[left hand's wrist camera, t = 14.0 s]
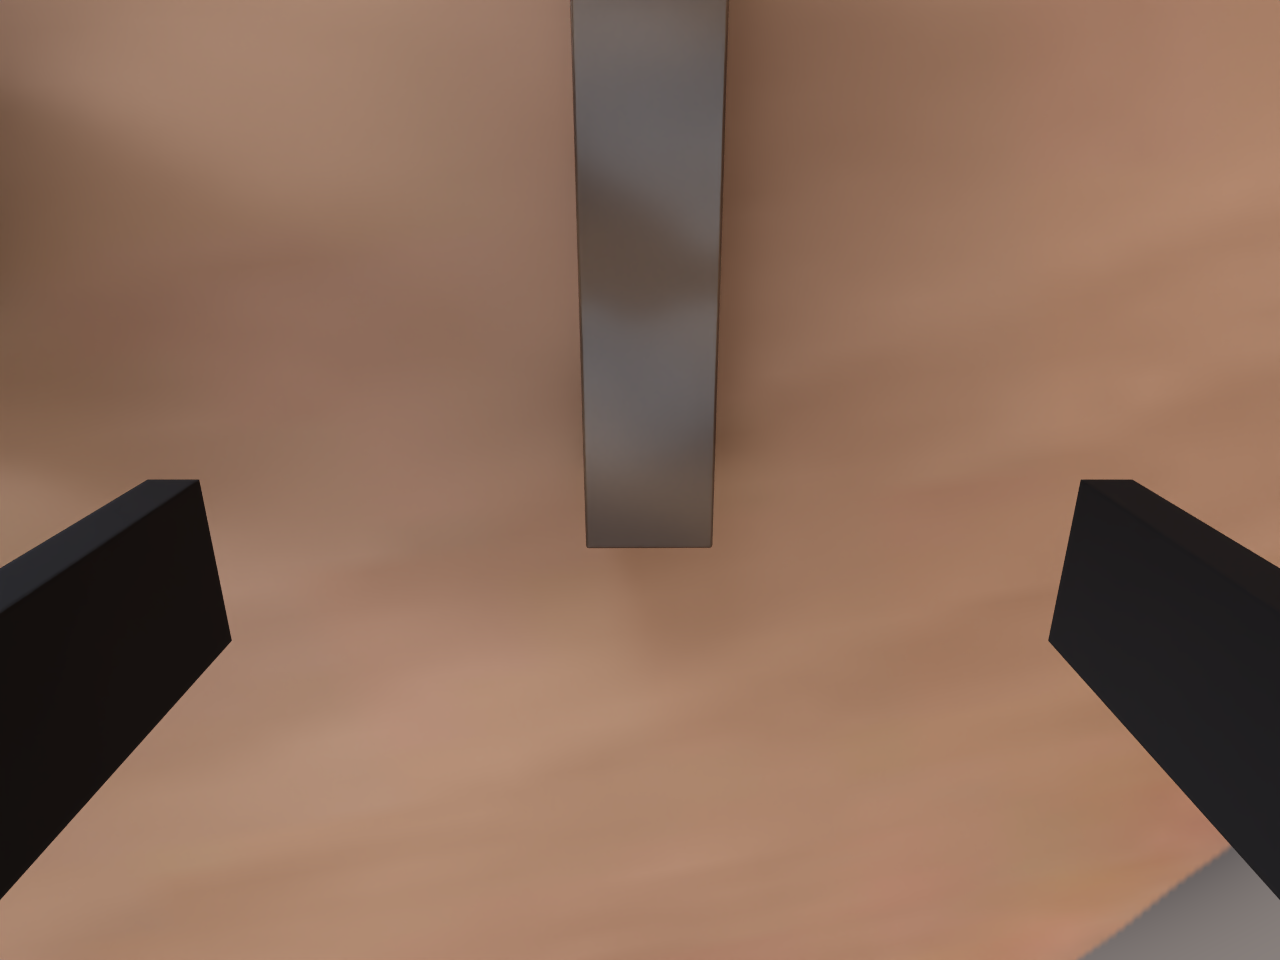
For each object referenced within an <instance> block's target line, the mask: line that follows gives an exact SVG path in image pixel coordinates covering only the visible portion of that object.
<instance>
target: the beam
mask: <svg viewBox="0 0 1280 960" xmlns="http://www.w3.org/2000/svg"><path fill="white" fill-rule="evenodd" d="M570 11H571V45H572V79H573V113H574V147H575V182H576V216H577V250H578V284H579V318H580V352H581V387H582V421H583V455H584V489H585V523H586V546H587V548H710V547H712V537H713V504H714V471H715V439H716V406H717V373H718V340H719V307H720V274H721V242H722V209H723V176H724V143H725V110H726V77H727V45H728V12H729V0H570Z"/></svg>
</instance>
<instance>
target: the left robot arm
mask: <svg viewBox="0 0 1280 960" xmlns="http://www.w3.org/2000/svg"><path fill="white" fill-rule="evenodd" d="M231 641H232V640H231V635H230V630H229V625H228V620H227V615H226V610H225V605H224V600H223V595H222V590H221V585H220V580H219V575H218V571H217V566H216V561H215V556H214V551H213V546H212V541H211V536H210V531H209V526H208V521H207V516H206V511H205V506H204V501H203V496H202V492H201V487H200V482H199V480H146V481H145V482H143V483H141V484H140V485H138V486H136V487H135V488H133V489H131V490H130V491H128V492H126V493H125V494H123V495H121V496H120V497H118V498H116V499H115V500H113V501H111V502H110V503H108V504H106V505H105V506H103V507H101V508H100V509H98V510H96V511H95V512H93V513H91V514H90V515H88V516H86V517H85V518H83V519H81V520H80V521H78V522H76V523H75V524H73V525H71V526H70V527H68V528H66V529H65V530H63V531H61V532H60V533H58V534H56V535H55V536H53V537H52V538H50V539H48V540H47V541H45V542H43V543H42V544H40V545H38V546H37V547H35V548H33V549H32V550H30V551H28V552H27V553H25V554H23V555H22V556H20V557H18V558H17V559H15V560H13V561H12V562H10V563H8V564H7V565H5V566H3V567H2V568H0V899H1V898H2V897H3V896H4V895H5V894H6V893H7V892H8V890H9V889H10V888H11V887H12V886H13V885H14V884H15V883H16V882H17V880H18V879H19V878H20V877H21V876H22V875H23V874H24V873H25V871H26V870H27V869H28V868H29V867H30V866H31V865H32V864H33V863H34V861H35V860H36V859H37V858H38V857H39V856H40V855H41V854H42V852H43V851H44V850H45V849H46V848H47V847H48V846H49V845H50V843H51V842H52V841H53V840H54V839H55V838H56V837H57V836H58V835H59V833H60V832H61V831H62V830H63V829H64V828H65V827H66V826H67V824H68V823H69V822H70V821H71V820H72V819H73V818H74V817H75V815H76V814H77V813H78V812H79V811H80V810H81V809H82V808H83V807H84V805H85V804H86V803H87V802H88V801H89V800H90V799H91V798H92V796H93V795H94V794H95V793H96V792H97V791H98V790H99V789H100V788H101V786H102V785H103V784H104V783H105V782H106V781H107V780H108V779H109V777H110V776H111V775H112V774H113V773H114V772H115V771H116V770H117V768H118V767H119V766H120V765H121V764H122V763H123V762H124V761H125V760H126V758H127V757H128V756H129V755H130V754H131V753H132V752H133V751H134V749H135V748H136V747H137V746H138V745H139V744H140V743H141V742H142V740H143V739H144V738H145V737H146V736H147V735H148V734H149V733H150V732H151V730H152V729H153V728H154V727H155V726H156V725H157V724H158V723H159V721H160V720H161V719H162V718H163V717H164V716H165V715H166V714H167V712H168V711H169V710H170V709H171V708H172V707H173V706H174V705H175V704H176V702H177V701H178V700H179V699H180V698H181V697H182V696H183V695H184V693H185V692H186V691H187V690H188V689H189V688H190V687H191V686H192V685H193V683H194V682H195V681H196V680H197V679H198V678H199V677H200V676H201V674H202V673H203V672H204V671H205V670H206V669H207V668H208V667H209V665H210V664H211V663H212V662H213V661H214V660H215V659H216V658H217V657H218V655H219V654H220V653H221V652H222V651H223V650H224V649H225V648H226V646H227V645H228V644H229V643H230V642H231ZM1048 641H1049V642H1050V643H1051V644H1052V645H1053V646H1054V648H1055V649H1056V650H1057V651H1058V652H1059V653H1060V654H1061V655H1062V657H1063V658H1064V659H1065V660H1066V661H1067V662H1068V663H1069V664H1070V665H1071V667H1072V668H1073V669H1074V670H1075V671H1076V672H1077V673H1078V674H1079V676H1080V677H1081V678H1082V679H1083V680H1084V681H1085V682H1086V683H1087V685H1088V686H1089V687H1090V688H1091V689H1092V690H1093V691H1094V692H1095V693H1096V695H1097V696H1098V697H1099V698H1100V699H1101V700H1102V701H1103V702H1104V704H1105V705H1106V706H1107V707H1108V708H1109V709H1110V710H1111V711H1112V712H1113V714H1114V715H1115V716H1116V717H1117V718H1118V719H1119V720H1120V721H1121V723H1122V724H1123V725H1124V726H1125V727H1126V728H1127V729H1128V730H1129V732H1130V733H1131V734H1132V735H1133V736H1134V737H1135V738H1136V739H1137V740H1138V742H1139V743H1140V744H1141V745H1142V746H1143V747H1144V748H1145V749H1146V751H1147V752H1148V753H1149V754H1150V755H1151V756H1152V757H1153V758H1154V760H1155V761H1156V762H1157V763H1158V764H1159V765H1160V766H1161V767H1162V768H1163V770H1164V771H1165V772H1166V773H1167V774H1168V775H1169V776H1170V777H1171V779H1172V780H1173V781H1174V782H1175V783H1176V784H1177V785H1178V786H1179V788H1180V789H1181V790H1182V791H1183V792H1184V793H1185V794H1186V795H1187V796H1188V798H1189V799H1190V800H1191V801H1192V802H1193V803H1194V804H1195V805H1196V807H1197V808H1198V809H1199V810H1200V811H1201V812H1202V813H1203V814H1204V815H1205V817H1206V818H1207V819H1208V820H1209V821H1210V822H1211V823H1212V824H1213V826H1214V827H1215V828H1216V829H1217V830H1218V831H1219V832H1220V833H1221V835H1222V836H1223V837H1224V838H1225V839H1226V840H1227V841H1228V842H1229V843H1230V845H1231V846H1232V847H1233V848H1234V849H1235V850H1236V851H1237V852H1238V854H1239V855H1240V856H1241V857H1242V858H1243V859H1244V860H1245V861H1246V862H1247V864H1248V865H1249V866H1250V867H1251V868H1252V869H1253V870H1254V871H1255V873H1256V874H1257V875H1258V876H1259V877H1260V878H1261V879H1262V880H1263V882H1264V883H1265V884H1266V885H1267V886H1268V887H1269V888H1270V889H1271V890H1272V892H1273V893H1274V894H1275V895H1276V896H1277V897H1278V898H1279V899H1280V568H1278V567H1277V566H1275V565H1273V564H1272V563H1270V562H1268V561H1267V560H1265V559H1263V558H1262V557H1260V556H1258V555H1257V554H1255V553H1253V552H1252V551H1250V550H1248V549H1247V548H1245V547H1243V546H1242V545H1240V544H1238V543H1237V542H1235V541H1233V540H1232V539H1230V538H1228V537H1227V536H1225V535H1224V534H1222V533H1220V532H1219V531H1217V530H1215V529H1214V528H1212V527H1210V526H1209V525H1207V524H1205V523H1204V522H1202V521H1200V520H1199V519H1197V518H1195V517H1194V516H1192V515H1190V514H1189V513H1187V512H1185V511H1184V510H1182V509H1180V508H1179V507H1177V506H1175V505H1174V504H1172V503H1170V502H1169V501H1167V500H1165V499H1164V498H1162V497H1160V496H1159V495H1157V494H1155V493H1154V492H1152V491H1150V490H1149V489H1147V488H1145V487H1144V486H1142V485H1140V484H1139V483H1137V482H1135V481H1134V480H1081V482H1080V487H1079V492H1078V496H1077V501H1076V506H1075V511H1074V516H1073V521H1072V526H1071V531H1070V536H1069V541H1068V546H1067V551H1066V556H1065V561H1064V566H1063V571H1062V575H1061V580H1060V585H1059V590H1058V595H1057V600H1056V605H1055V610H1054V615H1053V620H1052V625H1051V630H1050V635H1049V640H1048Z"/></svg>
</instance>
